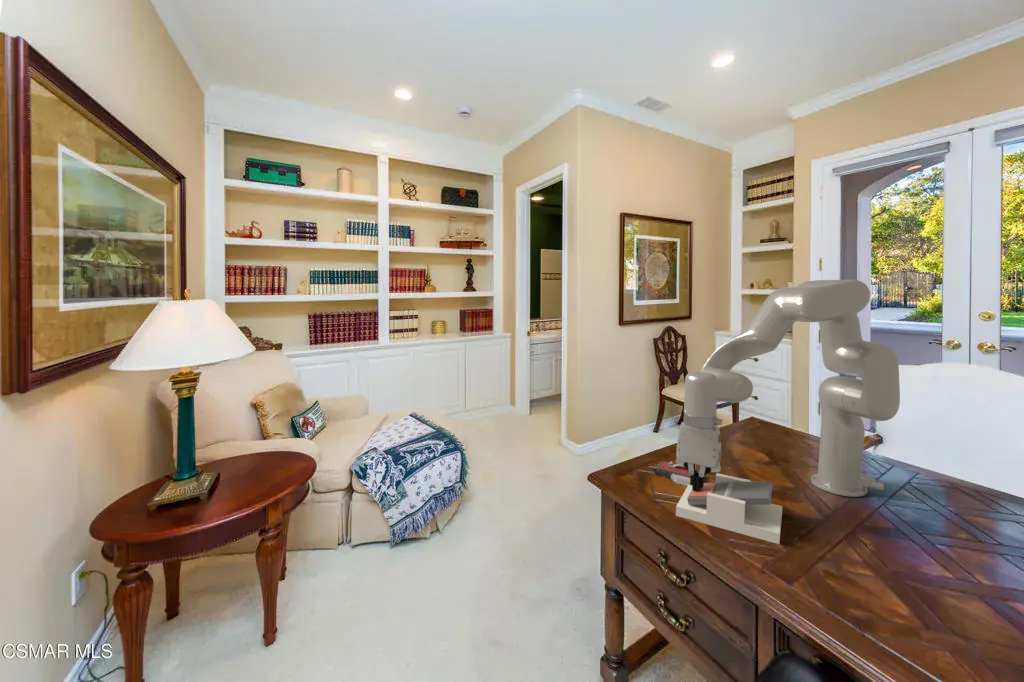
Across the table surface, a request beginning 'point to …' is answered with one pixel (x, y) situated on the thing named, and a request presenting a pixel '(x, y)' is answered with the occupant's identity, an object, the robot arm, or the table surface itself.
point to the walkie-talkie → (674, 472)
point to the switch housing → (734, 513)
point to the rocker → (735, 492)
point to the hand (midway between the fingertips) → (696, 488)
